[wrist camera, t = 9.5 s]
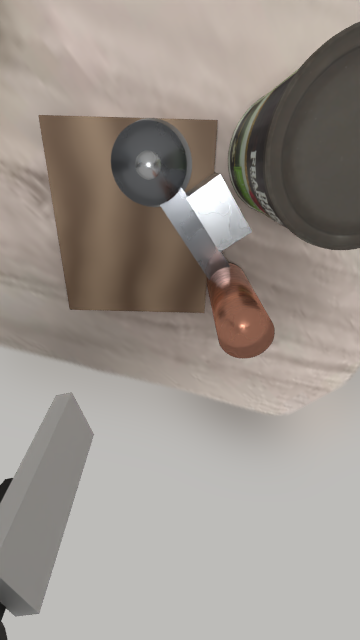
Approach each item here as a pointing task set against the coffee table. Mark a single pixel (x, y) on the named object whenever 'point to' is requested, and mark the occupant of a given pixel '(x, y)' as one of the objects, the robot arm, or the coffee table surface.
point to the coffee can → (307, 148)
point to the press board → (121, 219)
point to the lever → (195, 228)
